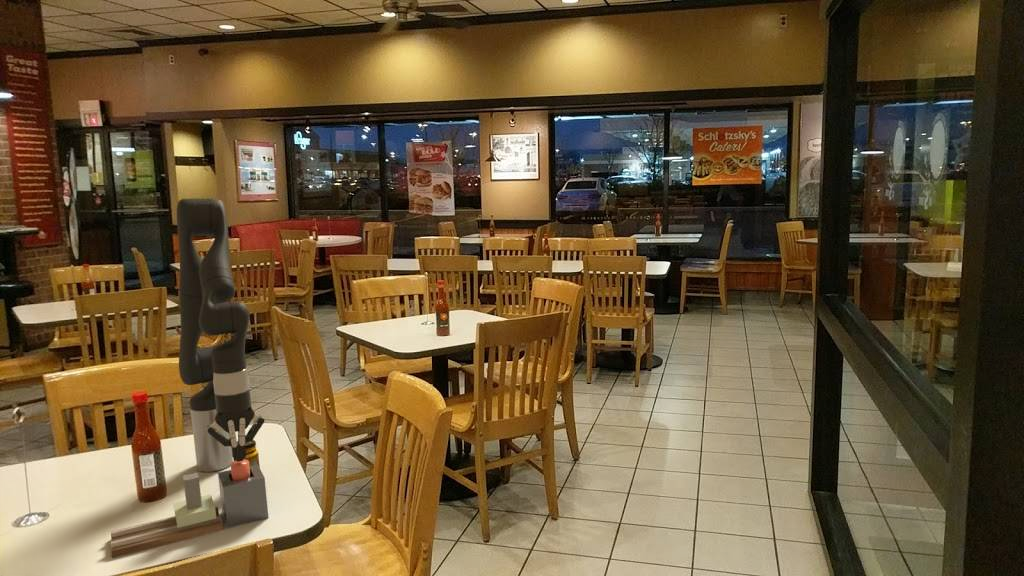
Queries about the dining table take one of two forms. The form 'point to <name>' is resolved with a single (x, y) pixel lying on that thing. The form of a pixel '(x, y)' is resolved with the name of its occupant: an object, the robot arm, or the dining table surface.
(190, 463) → the dining table surface
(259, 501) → the cabinet
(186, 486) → the carriage
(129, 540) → the rail track
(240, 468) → the plunger
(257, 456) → the condiment
